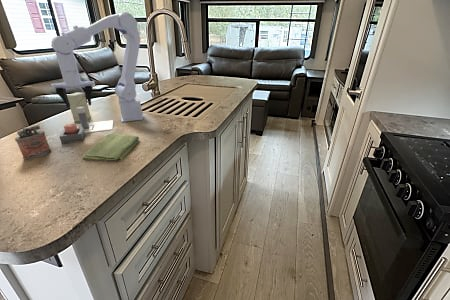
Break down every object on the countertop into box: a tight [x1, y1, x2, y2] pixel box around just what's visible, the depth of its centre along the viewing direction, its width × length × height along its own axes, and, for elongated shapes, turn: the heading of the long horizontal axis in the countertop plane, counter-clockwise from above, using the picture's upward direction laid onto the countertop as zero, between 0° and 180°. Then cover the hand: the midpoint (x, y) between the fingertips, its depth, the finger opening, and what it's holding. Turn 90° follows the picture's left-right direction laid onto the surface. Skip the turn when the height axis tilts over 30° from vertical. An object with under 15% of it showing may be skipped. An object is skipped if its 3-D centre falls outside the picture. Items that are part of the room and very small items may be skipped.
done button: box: [63, 123, 78, 134], centre depth 90 cm, size 4×4×2 cm
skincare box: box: [67, 91, 92, 122], centre depth 110 cm, size 6×4×12 cm
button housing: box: [59, 127, 86, 145], centre depth 92 cm, size 7×7×3 cm
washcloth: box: [82, 133, 140, 161], centre depth 83 cm, size 13×18×3 cm
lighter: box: [14, 124, 52, 162], centre depth 78 cm, size 8×3×10 cm, turn 148°
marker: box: [76, 107, 89, 129], centre depth 99 cm, size 3×3×9 cm
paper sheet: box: [76, 119, 114, 134], centre depth 103 cm, size 17×12×1 cm
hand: (79, 105), depth 97 cm, fingers open, 7 cm apart
